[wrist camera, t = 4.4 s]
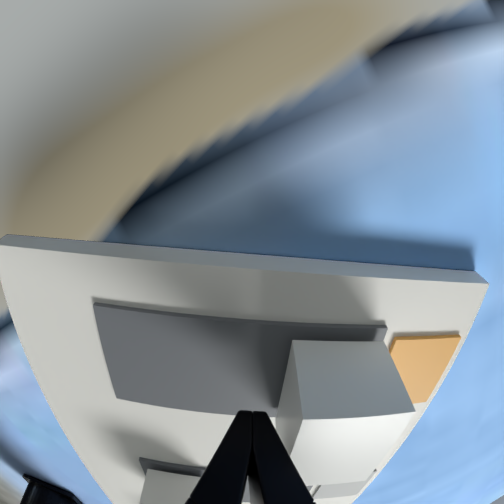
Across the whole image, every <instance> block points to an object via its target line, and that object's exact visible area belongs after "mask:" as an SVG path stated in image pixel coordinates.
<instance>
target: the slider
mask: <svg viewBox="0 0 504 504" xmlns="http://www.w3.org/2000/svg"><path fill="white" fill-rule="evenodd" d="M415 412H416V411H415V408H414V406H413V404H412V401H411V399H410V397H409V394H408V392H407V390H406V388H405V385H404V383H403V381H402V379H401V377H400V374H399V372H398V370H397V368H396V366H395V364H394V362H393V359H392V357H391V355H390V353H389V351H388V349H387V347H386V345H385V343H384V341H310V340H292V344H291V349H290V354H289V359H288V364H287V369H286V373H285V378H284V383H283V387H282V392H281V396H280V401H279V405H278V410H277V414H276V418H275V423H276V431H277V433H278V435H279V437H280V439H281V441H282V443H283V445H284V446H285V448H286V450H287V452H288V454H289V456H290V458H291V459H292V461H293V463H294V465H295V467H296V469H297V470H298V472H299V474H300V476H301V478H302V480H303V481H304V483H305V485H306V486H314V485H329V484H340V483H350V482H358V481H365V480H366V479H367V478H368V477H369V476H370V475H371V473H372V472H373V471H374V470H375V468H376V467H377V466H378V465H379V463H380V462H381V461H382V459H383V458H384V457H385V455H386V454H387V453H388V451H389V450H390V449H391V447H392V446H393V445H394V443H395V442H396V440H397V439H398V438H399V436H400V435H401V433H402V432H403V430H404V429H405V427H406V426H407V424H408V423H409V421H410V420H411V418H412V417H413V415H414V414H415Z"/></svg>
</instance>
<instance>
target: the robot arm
mask: <svg viewBox="0 0 504 504" xmlns="http://www.w3.org/2000/svg"><path fill="white" fill-rule="evenodd" d="M247 476H248V485H249V495H250V504H316V502H314V499H313V497H312V496H311V494H310V492H309V490H308V488H307V487H306V485H305V483H304V481H303V480H302V478H301V476H300V474H299V472H298V470H297V469H296V467H295V465H294V463H293V461H292V459H291V458H290V456H289V454H288V452H287V450H286V448H285V446H284V445H283V443H282V441H281V439H280V437H279V435H278V433H277V431H276V429H275V427H274V425H273V424H272V422H271V420H270V418H269V416H268V414H267V413H266V412H265V411H253V412H252V411H248V410H239V411H238V412H237V414H236V416H235V418H234V419H233V421H232V423H231V425H230V427H229V429H228V430H227V432H226V434H225V436H224V438H223V439H222V441H221V443H220V445H219V446H218V448H217V450H216V452H215V454H214V455H213V457H212V459H211V460H210V462H209V464H208V466H207V467H206V469H205V471H204V473H203V474H202V476H201V478H200V479H199V481H198V483H197V484H196V486H195V488H194V489H193V491H192V493H191V494H190V498H188V499H187V501H186V502H185V504H242V502H243V497H244V492H245V487H246V482H247ZM23 478H24V479H25V480H26V481H27V482H28V486H27V488H26V490H25V493H24V495H23V498H22V500H21V503H20V504H81V503H80V502H79V500H78V499H77V498H76V497H75V496H74V495H72V494H70V493H68V492H66V491H63V490H60V489H58V488H55V487H53V486H51V485H48V484H46V483H44V482H41V481H39V480H37V479H35V478H32V477H30V476H28V475H26V474H23Z"/></svg>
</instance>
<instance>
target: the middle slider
mask: <svg viewBox="0 0 504 504" xmlns="http://www.w3.org/2000/svg"><path fill="white" fill-rule="evenodd" d="M200 478H201V477H196V476H189V475H182V474H175V473H169V472H163V471H158V470H152V469H147V473H146V477H145V481H144V485H143V489H142V494H141V498H140V502H139V504H185V502H186V501H187V499H188V498H190V494H191V493H192V491H193V489H194V488H195V486H196V484H197V483H198V481H199V479H200Z"/></svg>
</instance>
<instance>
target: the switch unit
mask: <svg viewBox="0 0 504 504" xmlns="http://www.w3.org/2000/svg"><path fill="white" fill-rule="evenodd" d="M0 280H1V284H2V287H3V291H4V294H5V297H6V301H7V304H8V307H9V311H10V314H11V317H12V320H13V322H14V325H15V328H16V331H17V334H18V336H19V339H20V342H21V344H22V347H23V349H24V352H25V354H26V357H27V359H28V361H29V364H30V366H31V368H32V371H33V373H34V375H35V377H36V380H37V382H38V384H39V386H40V388H41V390H42V392H43V394H44V396H45V398H46V400H47V402H48V404H49V406H50V408H51V410H52V412H53V414H54V415H55V417H56V419H57V421H58V423H59V424H60V426H61V428H62V430H63V431H64V433H65V435H66V436H67V438H68V440H69V441H70V443H71V445H72V446H73V448H74V450H75V451H76V453H77V454H78V456H79V457H80V459H81V460H82V462H83V463H84V465H85V466H86V468H87V469H88V471H89V472H90V474H91V475H92V476H93V478H94V479H95V481H96V482H97V483H98V485H99V486H100V487H101V489H102V490H103V491H104V493H105V494H106V495H107V497H108V498H109V499H110V500H111V502H112V503H113V504H139V502H140V498H141V494H142V489H143V485H144V481H145V477H146V473H147V469H152V470H158V471H163V472H169V473H175V474H182V475H189V476H196V477H201V476H202V474H203V473H204V471H205V469H206V467H207V466H208V464H209V462H210V460H211V459H212V457H213V455H214V454H215V452H216V450H217V448H218V446H219V445H220V443H221V441H222V439H223V438H224V436H225V434H226V432H227V430H228V429H229V427H230V425H231V423H232V421H233V419H234V418H235V416H236V414H237V412H238V411H239V410H248V411H252V412H253V411H265V412H266V413H267V414H268V416H269V418H270V420H271V422H272V424H273V425H274V427H275V429H276V423H275V418H276V414H277V410H278V405H279V401H280V396H281V392H282V387H283V383H284V378H285V373H286V369H287V364H288V359H289V354H290V349H291V344H292V340H310V341H384V343H385V345H386V347H387V349H388V351H389V353H390V355H391V357H392V359H393V362H394V364H395V366H396V368H397V370H398V372H399V374H400V377H401V379H402V381H403V383H404V385H405V388H406V390H407V392H408V394H409V397H410V399H411V401H412V404H413V406H414V408H415V411H416V412H415V414H414V415H413V417H412V418H411V420H410V421H409V423H408V424H407V426H406V427H405V429H404V430H403V432H402V433H401V435H400V436H399V438H398V439H397V440H396V442H395V443H394V445H393V446H392V447H391V449H390V450H389V451H388V453H387V454H386V455H385V457H384V458H383V459H382V461H381V462H380V463H379V465H378V466H377V467H376V468H375V470H374V471H373V472H372V473H371V475H370V476H369V477H368V478H367V479H366V480H365V481H358V482H350V483H340V484H329V485H314V486H306V487H307V488H308V490H309V492H310V494H311V496H312V497H313V499H314V502H316V504H352V503H353V502H354V501H355V500H356V499H357V498H358V497H359V495H360V494H361V493H362V492H363V491H364V490H365V489H366V488H367V487H368V485H369V484H370V483H371V482H372V481H373V480H374V479H375V477H376V476H377V475H378V474H379V473H380V471H381V470H382V469H383V468H384V467H385V465H386V464H387V463H388V462H389V460H390V459H391V458H392V457H393V455H394V454H395V453H396V451H397V450H398V449H399V447H400V446H401V445H402V443H403V442H404V441H405V439H406V438H407V436H408V435H409V434H410V432H411V431H412V429H413V428H414V427H415V425H416V424H417V422H418V421H419V419H420V418H421V416H422V415H423V413H424V412H425V410H426V409H427V407H428V405H429V404H430V402H431V401H432V399H433V397H434V396H435V394H436V393H437V391H438V389H439V388H440V386H441V384H442V382H443V381H444V379H445V377H446V375H447V374H448V372H449V370H450V368H451V366H452V365H453V363H454V361H455V359H456V357H457V355H458V353H459V351H460V349H461V347H462V345H463V343H464V341H465V339H466V337H467V335H468V333H469V331H470V329H471V326H472V324H473V322H474V320H475V318H476V315H477V313H478V311H479V308H480V306H481V304H482V301H483V299H484V296H485V294H486V291H487V289H488V286H489V283H488V282H487V281H486V280H485V279H484V278H482V277H481V276H480V275H479V274H478V273H477V272H476V271H464V270H451V269H437V268H424V267H411V266H398V265H385V264H372V263H359V262H346V261H334V260H321V259H308V258H295V257H283V256H270V255H257V254H245V253H232V252H219V251H207V250H194V249H182V248H169V247H157V246H145V245H132V244H120V243H108V242H95V241H83V240H71V239H59V238H58V239H57V238H46V237H34V236H22V235H9V234H7V235H5V236H4V237H2V238H1V239H0ZM242 504H250V495H249V485H248V476H247V482H246V487H245V492H244V497H243V502H242Z"/></svg>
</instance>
